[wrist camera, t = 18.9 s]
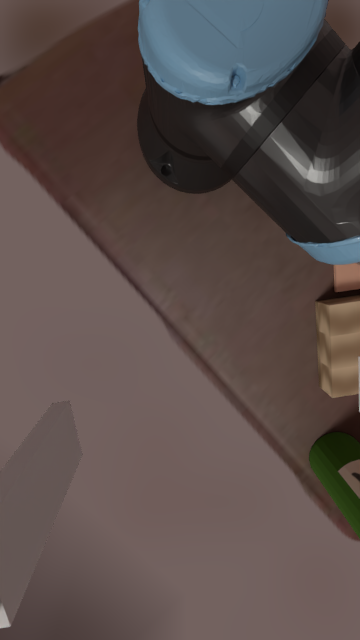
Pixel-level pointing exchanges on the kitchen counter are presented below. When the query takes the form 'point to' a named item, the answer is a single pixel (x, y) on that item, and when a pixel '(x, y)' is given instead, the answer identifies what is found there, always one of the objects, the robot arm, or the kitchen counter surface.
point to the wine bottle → (339, 472)
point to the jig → (338, 345)
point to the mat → (346, 277)
